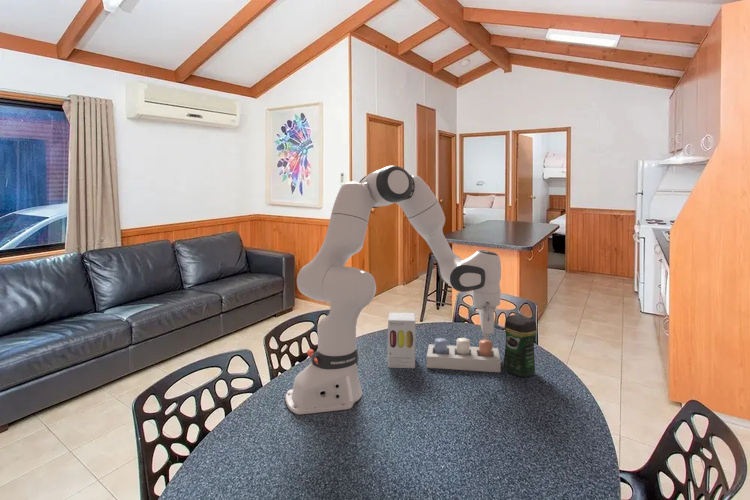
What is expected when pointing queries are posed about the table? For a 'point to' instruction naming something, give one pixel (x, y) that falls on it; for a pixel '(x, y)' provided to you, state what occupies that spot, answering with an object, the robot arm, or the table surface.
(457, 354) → the white boxy piece
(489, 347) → the terracotta key
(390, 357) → the supplement box
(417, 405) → the table surface
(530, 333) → the coffee jar
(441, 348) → the slate blue key
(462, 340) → the ivory key
